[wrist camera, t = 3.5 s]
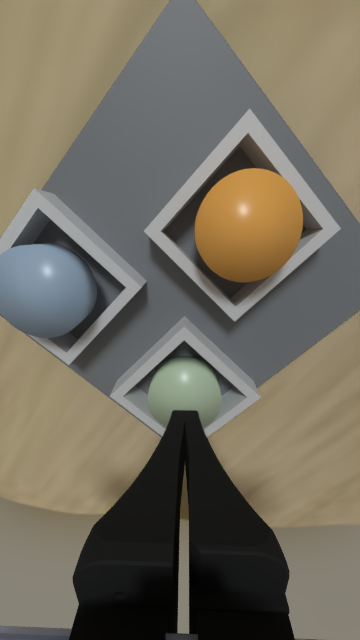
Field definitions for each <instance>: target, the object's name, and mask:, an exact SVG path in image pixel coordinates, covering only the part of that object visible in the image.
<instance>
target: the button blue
mask: <svg viewBox="0 0 360 640" xmlns="http://www.w3.org/2000/svg"><path fill="white" fill-rule="evenodd" d="M96 299H97V285H96V281H95V278H94V275H93V273H92V271H91V269H90V267H89V266H88V265H87V263H86V262H85V261H84V260H83V259H82V258H81V257H80V256H79V255H78V254H77V253H75V252H74V251H72V250H70V249H68V248H66V247H64V246H61V245H57V244H51V243H45V244H32V245H20V246H16V247H13V248H10V249H8V250H6V251H5V252H3V253H2V254H1V255H0V313H1V314H2V316H3V317H4V318H5V319H6V320H7V321H8V322H9V323H10V324H11V325H13V326H14V327H15V328H17V329H18V330H20V331H22V332H24V333H26V334H29V335H32V336H35V337H41V338H53V337H58V336H61V335H64V334H66V333H68V332H69V331H71V330H72V329H73V328H75V327H76V326H77V325H78V324H79V323H80V322H82V321H83V320H84V319H85V318H86V317H87V316H88V315H89V314H90V313H91V312H92V310H93V308H94V306H95V303H96Z"/></svg>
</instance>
